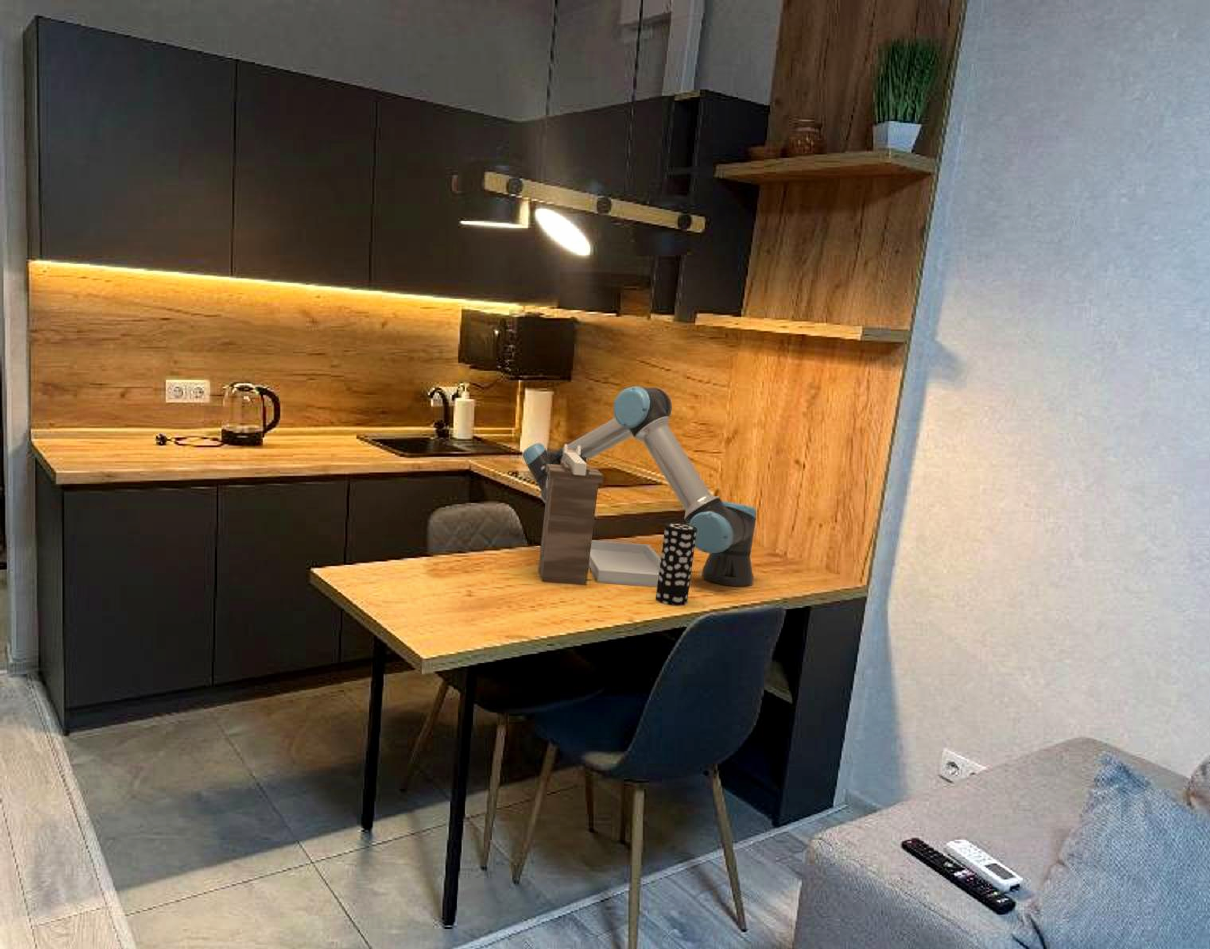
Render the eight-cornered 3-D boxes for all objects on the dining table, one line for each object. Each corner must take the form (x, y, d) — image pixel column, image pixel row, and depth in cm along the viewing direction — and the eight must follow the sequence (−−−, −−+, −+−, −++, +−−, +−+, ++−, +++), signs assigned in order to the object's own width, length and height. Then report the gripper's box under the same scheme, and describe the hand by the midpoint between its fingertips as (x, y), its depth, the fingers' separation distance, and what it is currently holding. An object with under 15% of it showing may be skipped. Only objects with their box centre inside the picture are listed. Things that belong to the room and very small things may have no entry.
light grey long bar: (585, 475, 238) (586, 464, 238) (573, 474, 238) (575, 462, 237) (572, 460, 265) (573, 450, 265) (561, 459, 265) (562, 449, 264)
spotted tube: (663, 594, 248) (672, 521, 245) (691, 601, 244) (701, 527, 242) (650, 600, 241) (660, 525, 238) (679, 607, 237) (690, 531, 234)
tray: (675, 588, 256) (676, 576, 255) (597, 582, 252) (598, 570, 251) (647, 555, 293) (648, 544, 292) (579, 549, 289) (580, 538, 288)
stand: (590, 585, 248) (604, 471, 243) (538, 581, 245) (551, 466, 241) (583, 573, 260) (596, 464, 256) (534, 569, 258) (546, 459, 254)
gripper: (585, 493, 277) (600, 464, 256) (532, 488, 274) (543, 459, 253) (586, 470, 280) (601, 439, 258) (533, 465, 277) (544, 434, 255)
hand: (572, 449), depth 256 cm, fingers closed on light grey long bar, 3 cm apart
